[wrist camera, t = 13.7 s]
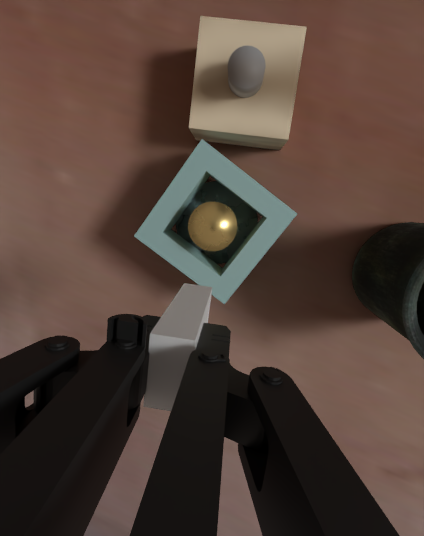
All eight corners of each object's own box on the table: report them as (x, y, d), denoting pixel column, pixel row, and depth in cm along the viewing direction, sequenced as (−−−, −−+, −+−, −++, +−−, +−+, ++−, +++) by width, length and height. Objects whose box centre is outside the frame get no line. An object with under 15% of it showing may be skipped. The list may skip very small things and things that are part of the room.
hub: (183, 178, 33) (168, 169, 25) (261, 188, 32) (269, 182, 25) (175, 255, 34) (159, 268, 27) (250, 265, 34) (254, 281, 27)
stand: (206, 46, 30) (197, -4, 23) (295, 56, 30) (314, 8, 23) (195, 140, 32) (184, 120, 25) (280, 150, 32) (293, 133, 24)
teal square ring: (206, 147, 30) (201, 138, 26) (289, 213, 31) (297, 213, 27) (146, 232, 32) (133, 236, 28) (225, 292, 33) (224, 304, 29)
